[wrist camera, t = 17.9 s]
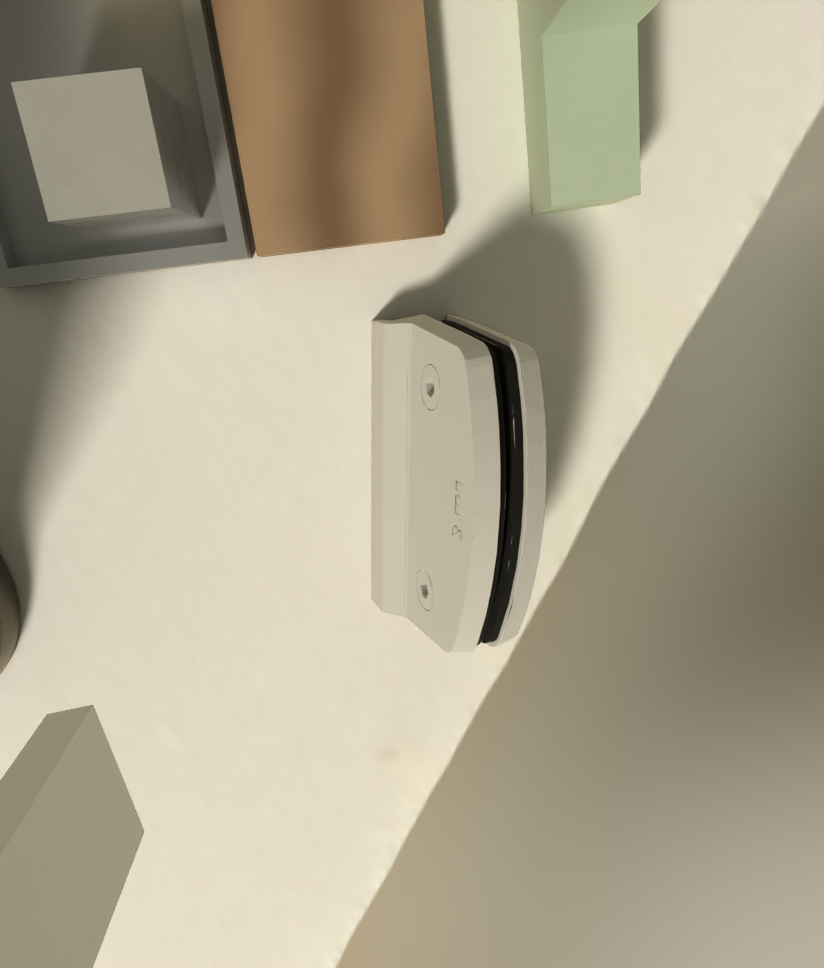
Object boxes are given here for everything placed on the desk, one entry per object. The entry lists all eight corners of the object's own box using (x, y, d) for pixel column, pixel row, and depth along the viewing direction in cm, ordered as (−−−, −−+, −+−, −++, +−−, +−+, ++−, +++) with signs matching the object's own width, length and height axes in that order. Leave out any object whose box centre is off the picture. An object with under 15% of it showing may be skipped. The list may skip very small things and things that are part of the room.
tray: (9, 287, 32) (-5, 287, 30) (-136, -203, 26) (-160, -226, 25) (252, 258, 32) (247, 257, 31) (162, -236, 26) (152, -259, 25)
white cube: (98, 230, 31) (48, 221, 26) (69, 114, 29) (11, 82, 25) (202, 218, 31) (170, 207, 26) (178, 101, 29) (141, 67, 25)
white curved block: (371, 312, 33) (460, 325, 24) (454, 312, 35) (564, 324, 26) (371, 604, 38) (445, 702, 29) (443, 591, 40) (533, 680, 31)
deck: (262, 256, 32) (257, 255, 30) (174, -237, 26) (162, -267, 25) (441, 235, 32) (444, 232, 31) (394, -261, 26) (395, -292, 25)
